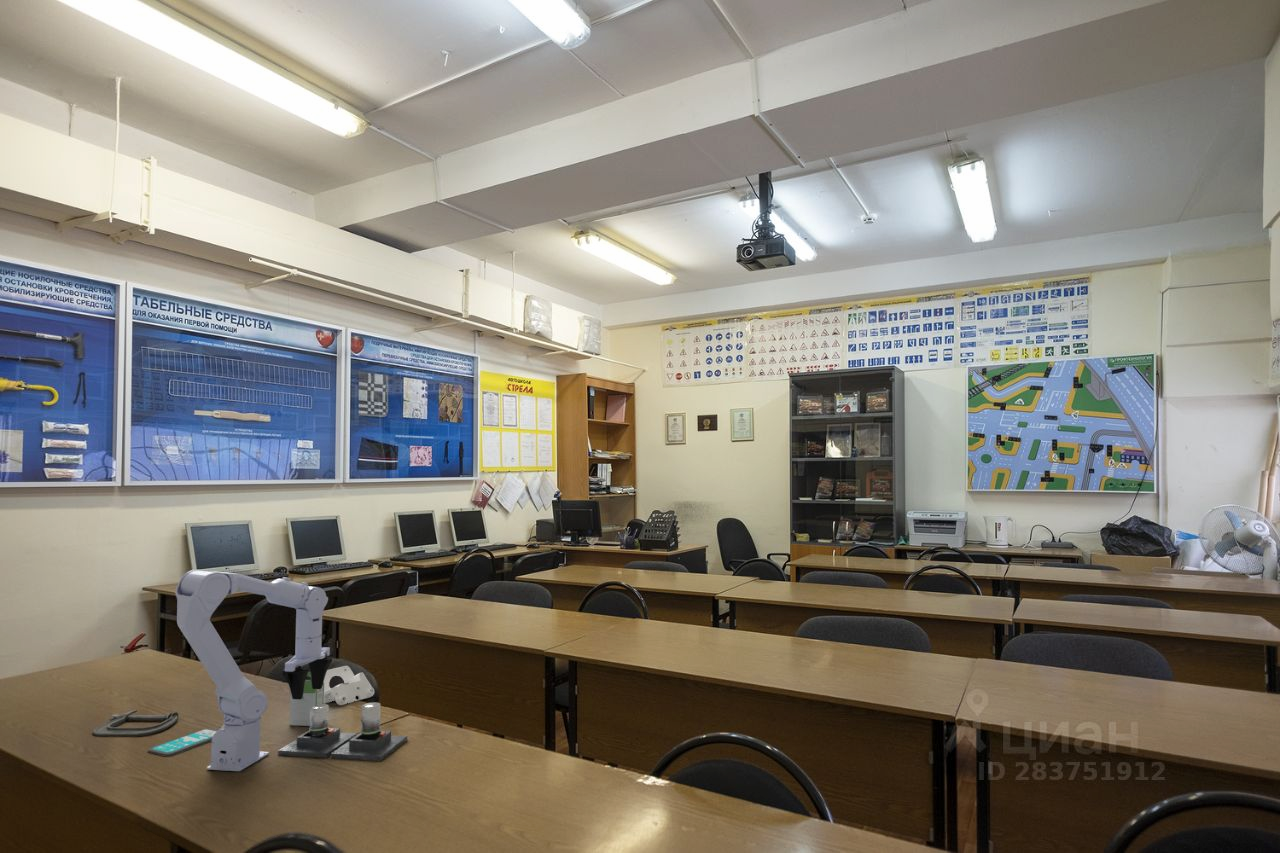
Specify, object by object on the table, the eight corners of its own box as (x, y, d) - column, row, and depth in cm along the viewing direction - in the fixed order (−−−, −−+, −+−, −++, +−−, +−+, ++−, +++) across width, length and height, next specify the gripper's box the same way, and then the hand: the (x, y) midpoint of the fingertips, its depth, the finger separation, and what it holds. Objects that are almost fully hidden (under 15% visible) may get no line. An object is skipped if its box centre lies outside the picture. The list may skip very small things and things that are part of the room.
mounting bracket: (365, 700, 198) (357, 663, 202) (376, 694, 195) (368, 657, 198) (325, 711, 189) (318, 672, 192) (336, 706, 186) (329, 666, 189)
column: (374, 735, 156) (374, 708, 156) (357, 734, 156) (358, 707, 157) (383, 728, 160) (384, 702, 160) (367, 728, 160) (367, 702, 161)
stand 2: (381, 761, 151) (381, 743, 151) (330, 758, 153) (331, 741, 153) (407, 740, 163) (407, 724, 163) (360, 737, 164) (360, 721, 165)
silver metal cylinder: (321, 736, 157) (322, 710, 158) (305, 736, 158) (306, 709, 158) (332, 730, 162) (332, 704, 162) (316, 729, 162) (316, 703, 163)
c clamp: (73, 737, 167) (73, 725, 168) (134, 712, 184) (135, 702, 185) (146, 741, 165) (147, 729, 165) (202, 716, 182) (202, 705, 182)
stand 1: (326, 757, 153) (327, 740, 153) (277, 755, 155) (278, 738, 155) (356, 737, 165) (356, 721, 165) (310, 735, 166) (311, 719, 167)
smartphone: (231, 731, 168) (168, 754, 154) (231, 735, 167) (168, 758, 154) (208, 726, 171) (144, 748, 157) (208, 730, 171) (144, 753, 157)
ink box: (323, 721, 176) (325, 668, 177) (314, 727, 172) (316, 672, 173) (298, 720, 176) (299, 667, 177) (288, 726, 173) (290, 671, 173)
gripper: (305, 644, 158) (303, 704, 158) (341, 630, 173) (340, 684, 172) (277, 643, 159) (275, 703, 159) (315, 629, 174) (314, 683, 173)
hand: (307, 693), depth 165 cm, fingers open, 7 cm apart
